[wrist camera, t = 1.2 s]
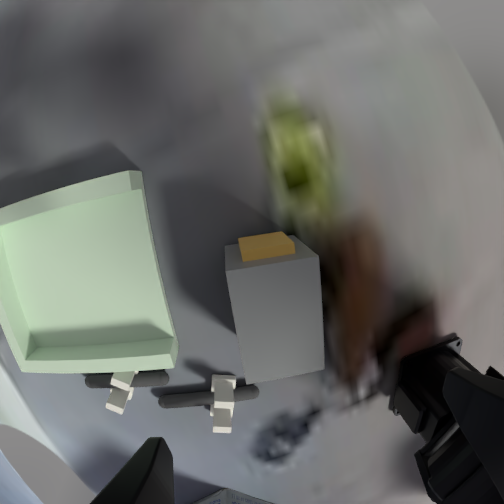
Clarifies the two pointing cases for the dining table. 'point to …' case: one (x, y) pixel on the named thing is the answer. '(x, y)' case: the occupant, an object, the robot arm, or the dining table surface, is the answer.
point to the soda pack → (230, 498)
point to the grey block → (276, 306)
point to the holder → (84, 281)
